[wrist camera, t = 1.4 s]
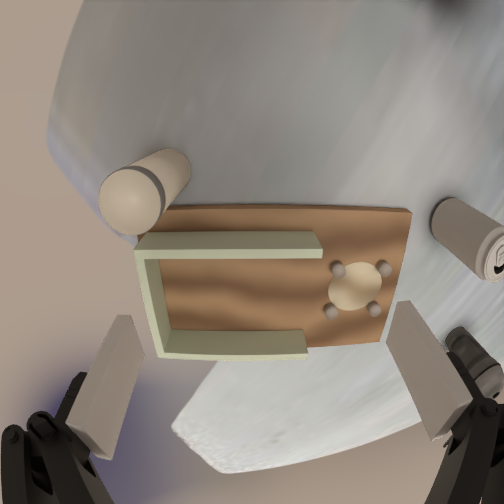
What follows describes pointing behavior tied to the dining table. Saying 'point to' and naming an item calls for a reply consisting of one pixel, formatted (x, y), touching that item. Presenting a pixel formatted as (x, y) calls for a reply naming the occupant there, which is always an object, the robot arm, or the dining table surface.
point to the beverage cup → (477, 362)
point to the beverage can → (471, 238)
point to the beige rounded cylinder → (143, 191)
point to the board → (289, 272)
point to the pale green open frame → (218, 247)
